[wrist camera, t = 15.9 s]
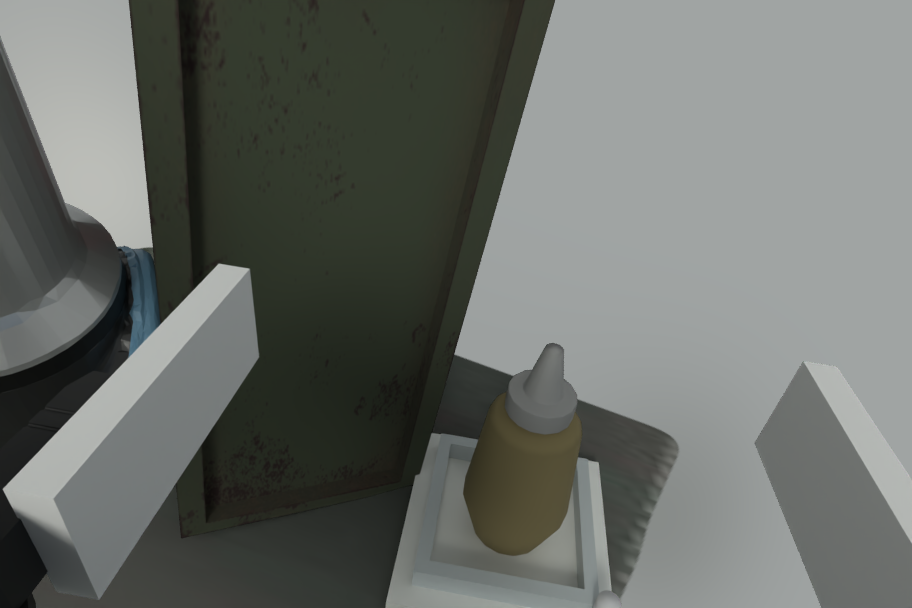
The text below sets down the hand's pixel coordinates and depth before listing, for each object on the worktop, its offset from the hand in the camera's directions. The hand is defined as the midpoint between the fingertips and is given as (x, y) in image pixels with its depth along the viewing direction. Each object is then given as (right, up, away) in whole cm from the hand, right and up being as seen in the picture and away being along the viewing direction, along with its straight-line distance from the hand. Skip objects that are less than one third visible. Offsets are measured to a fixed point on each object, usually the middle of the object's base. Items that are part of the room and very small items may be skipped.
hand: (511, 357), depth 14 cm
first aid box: (-17, -10, +38) cm, 43 cm away
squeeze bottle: (+3, -16, +32) cm, 36 cm away
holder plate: (+3, -17, +32) cm, 37 cm away
